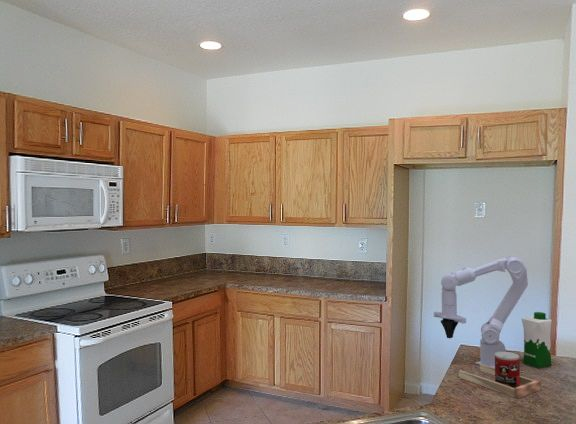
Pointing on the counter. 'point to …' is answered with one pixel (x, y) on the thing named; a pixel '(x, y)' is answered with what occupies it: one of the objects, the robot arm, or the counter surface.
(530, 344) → the milk carton
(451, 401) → the counter surface
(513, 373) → the canned food
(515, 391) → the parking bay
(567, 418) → the counter surface
